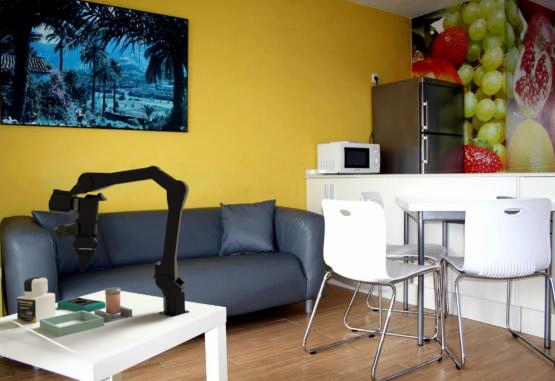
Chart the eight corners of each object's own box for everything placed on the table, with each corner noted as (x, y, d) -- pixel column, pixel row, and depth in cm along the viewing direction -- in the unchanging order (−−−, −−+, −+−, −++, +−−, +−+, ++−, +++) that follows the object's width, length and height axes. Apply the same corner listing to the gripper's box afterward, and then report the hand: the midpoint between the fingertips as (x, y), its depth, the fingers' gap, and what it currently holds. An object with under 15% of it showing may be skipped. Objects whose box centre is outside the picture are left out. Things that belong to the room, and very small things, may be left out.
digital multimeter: (76, 304, 155) (76, 295, 155) (106, 310, 147) (106, 300, 147) (56, 309, 149) (55, 300, 149) (86, 316, 141) (85, 306, 141)
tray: (103, 327, 128) (103, 317, 128) (58, 338, 119) (58, 328, 119) (83, 319, 136) (83, 310, 136) (39, 328, 127) (39, 319, 127)
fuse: (123, 316, 137) (123, 288, 137) (110, 319, 134) (109, 291, 134) (116, 313, 140) (115, 286, 140) (102, 317, 137) (102, 289, 136)
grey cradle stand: (132, 317, 137) (132, 309, 137) (108, 323, 131) (108, 315, 131) (118, 313, 142) (117, 305, 142) (94, 318, 137) (94, 310, 137)
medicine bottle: (16, 322, 134) (15, 279, 134) (37, 315, 141) (37, 275, 141) (35, 324, 132) (34, 281, 132) (56, 317, 138) (55, 276, 138)
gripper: (59, 210, 144) (54, 262, 144) (54, 216, 127) (49, 274, 127) (98, 213, 148) (93, 263, 148) (99, 219, 131) (94, 275, 131)
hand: (82, 268), depth 138 cm, fingers open, 9 cm apart
